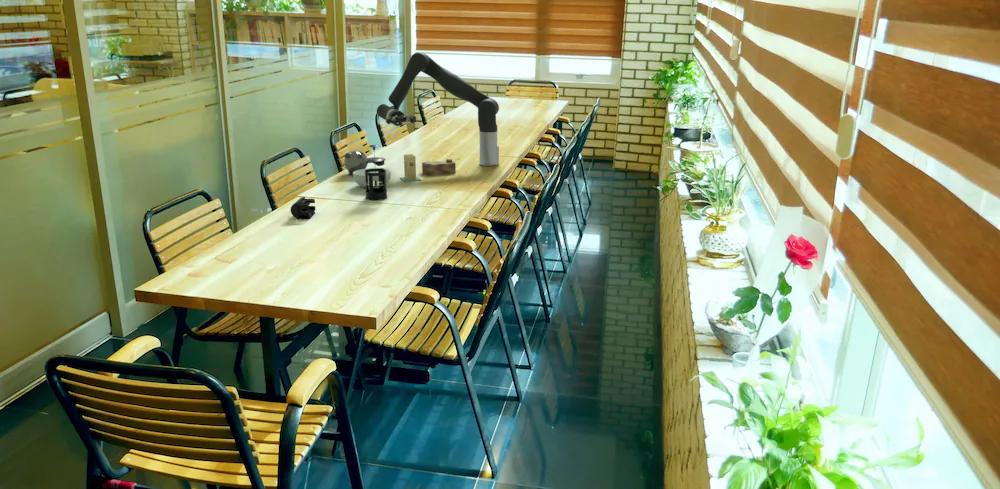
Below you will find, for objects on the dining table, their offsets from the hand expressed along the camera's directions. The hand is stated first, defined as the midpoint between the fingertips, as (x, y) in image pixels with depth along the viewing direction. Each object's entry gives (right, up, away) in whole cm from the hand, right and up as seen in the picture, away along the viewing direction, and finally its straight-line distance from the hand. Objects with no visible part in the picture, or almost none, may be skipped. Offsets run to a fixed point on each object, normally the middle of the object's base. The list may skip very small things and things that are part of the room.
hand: (404, 121), depth 365 cm
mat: (+3, -28, -4) cm, 28 cm away
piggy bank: (-24, -25, +6) cm, 35 cm away
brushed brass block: (+3, -28, -4) cm, 28 cm away
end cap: (-32, -48, -64) cm, 86 cm away
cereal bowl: (-13, -33, -18) cm, 39 cm away
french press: (-7, -39, -36) cm, 54 cm away
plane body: (+16, -24, +9) cm, 30 cm away
